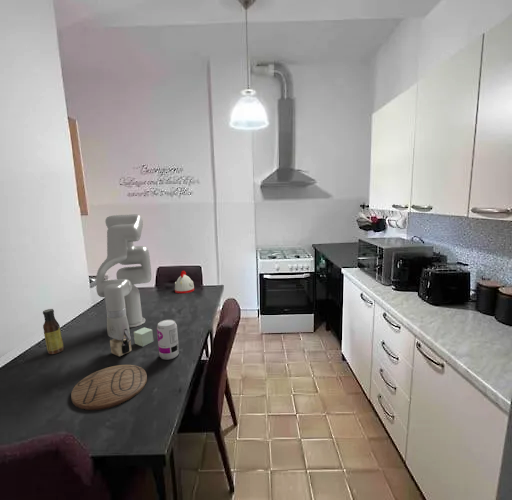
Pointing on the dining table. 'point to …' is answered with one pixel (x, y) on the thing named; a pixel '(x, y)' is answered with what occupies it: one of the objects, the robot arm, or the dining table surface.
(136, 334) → the sage cube
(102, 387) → the trivet
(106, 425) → the dining table surface
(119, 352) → the beech cube
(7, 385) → the dining table surface
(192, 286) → the white and red dome
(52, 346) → the sauce bottle
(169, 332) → the supplement can
